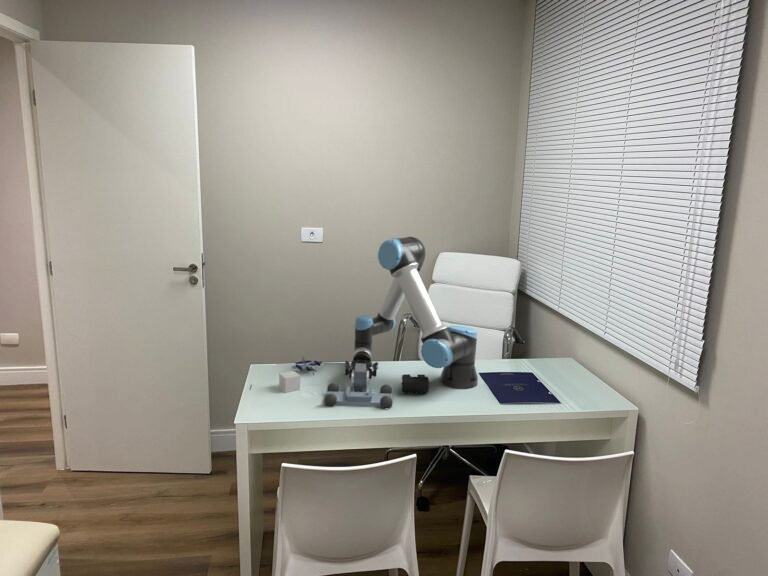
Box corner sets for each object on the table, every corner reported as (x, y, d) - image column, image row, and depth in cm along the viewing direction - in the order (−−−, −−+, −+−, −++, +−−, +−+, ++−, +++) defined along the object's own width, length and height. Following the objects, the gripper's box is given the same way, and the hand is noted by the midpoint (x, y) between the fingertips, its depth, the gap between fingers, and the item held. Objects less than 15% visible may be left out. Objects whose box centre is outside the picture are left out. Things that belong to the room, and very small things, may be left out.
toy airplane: (319, 379, 232) (319, 371, 231) (287, 375, 235) (287, 366, 234) (330, 369, 244) (330, 360, 243) (300, 365, 247) (300, 357, 247)
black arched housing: (402, 396, 218) (403, 379, 217) (400, 389, 225) (401, 372, 224) (428, 396, 219) (429, 379, 218) (425, 389, 226) (426, 372, 225)
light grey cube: (285, 393, 217) (285, 378, 215) (279, 388, 222) (279, 373, 220) (300, 390, 220) (300, 375, 219) (293, 385, 225) (293, 370, 224)
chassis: (391, 395, 218) (392, 384, 217) (392, 408, 206) (392, 397, 205) (327, 393, 218) (327, 382, 217) (324, 406, 206) (324, 395, 205)
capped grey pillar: (366, 387, 225) (367, 363, 223) (366, 392, 221) (367, 367, 218) (353, 386, 225) (354, 362, 223) (353, 391, 220) (353, 367, 218)
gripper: (383, 368, 240) (383, 390, 217) (340, 367, 240) (335, 388, 217) (384, 351, 239) (384, 371, 216) (340, 349, 238) (336, 369, 216)
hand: (359, 379), depth 217 cm, fingers closed on capped grey pillar, 5 cm apart
